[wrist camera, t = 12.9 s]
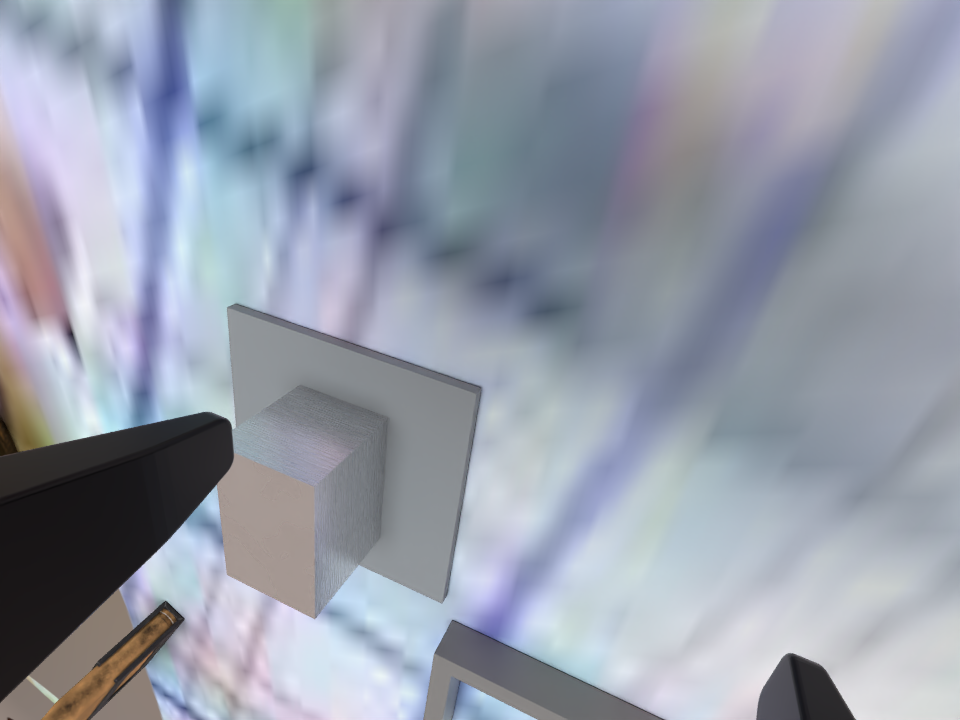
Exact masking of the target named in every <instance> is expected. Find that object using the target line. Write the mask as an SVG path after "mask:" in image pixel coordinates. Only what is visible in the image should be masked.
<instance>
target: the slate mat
mask: <svg viewBox="0 0 960 720" xmlns="http://www.w3.org/2000/svg"><path fill="white" fill-rule="evenodd" d="M227 315H228V328H229V341H230V354H231V367H232V379H233V392H234V405H235V418H236V427H238V426H239V425H241V424H242V423H244V422H245V421H247V420H248V419H250V418H251V417H253V416H254V415H256V414H257V413H259V412H260V411H262V410H263V409H265V408H266V407H268V406H269V405H271V404H272V403H274V402H275V401H277V400H278V399H279V398H281V397H282V396H284V395H285V394H287V393H288V392H290V391H291V390H293V389H294V388H296V387H297V386H299V385H302V386H305V387H308V388H311V389H313V390H316V391H319V392H321V393H324V394H327V395H329V396H332V397H335V398H338V399H340V400H343V401H346V402H348V403H351V404H354V405H356V406H359V407H362V408H365V409H367V410H370V411H373V412H375V413H378V414H381V415H383V416H386V417H389V422H388V436H387V450H386V464H385V478H384V492H383V507H382V521H381V535H380V539H379V540H378V541H377V543H376V544H375V545H374V546H373V548H372V549H371V550H370V551H369V553H368V554H367V555H366V556H365V558H364V559H363V560H362V561H361V563H360V564H359V565H360V566H363V567H365V568H367V569H369V570H371V571H373V572H375V573H378V574H380V575H382V576H384V577H386V578H388V579H391V580H393V581H395V582H397V583H399V584H401V585H403V586H406V587H408V588H410V589H412V590H414V591H416V592H418V593H421V594H423V595H425V596H427V597H429V598H431V599H433V600H436V601H438V602H440V603H443V601H444V600H445V598H446V596H447V591H448V585H449V579H450V573H451V567H452V561H453V555H454V549H455V543H456V537H457V531H458V525H459V519H460V513H461V507H462V501H463V495H464V489H465V483H466V477H467V471H468V465H469V459H470V453H471V447H472V441H473V435H474V430H475V424H476V418H477V412H478V406H479V400H480V394H481V388H479V387H476V386H474V385H471V384H468V383H465V382H462V381H459V380H456V379H453V378H450V377H447V376H444V375H441V374H439V373H436V372H433V371H430V370H427V369H424V368H421V367H418V366H415V365H412V364H409V363H406V362H403V361H401V360H398V359H395V358H392V357H389V356H386V355H383V354H380V353H377V352H374V351H371V350H368V349H366V348H363V347H360V346H357V345H354V344H351V343H348V342H345V341H342V340H339V339H336V338H333V337H331V336H328V335H325V334H322V333H319V332H316V331H313V330H310V329H307V328H304V327H301V326H298V325H295V324H293V323H290V322H287V321H284V320H281V319H278V318H275V317H272V316H269V315H266V314H263V313H260V312H258V311H255V310H252V309H249V308H246V307H243V306H240V305H237V304H234V305H232V306H229V307H227Z"/></svg>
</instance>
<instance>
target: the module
mask: <svg viewBox="0 0 960 720" xmlns="http://www.w3.org/2000/svg"><path fill="white" fill-rule="evenodd" d="M388 422H389V417H386V416H383V415H381V414H378V413H375V412H373V411H370V410H367V409H365V408H362V407H359V406H356V405H354V404H351V403H348V402H346V401H343V400H340V399H338V398H335V397H332V396H329V395H327V394H324V393H321V392H319V391H316V390H313V389H311V388H308V387H305V386H302V385H299V386H297V387H296V388H294V389H293V390H291V391H290V392H288V393H287V394H285V395H284V396H282V397H281V398H279V399H278V400H277V401H275V402H274V403H272V404H271V405H269V406H268V407H266V408H265V409H263V410H262V411H260V412H259V413H257V414H256V415H254V416H253V417H251V418H250V419H248V420H247V421H245V422H244V423H242V424H241V425H239V426H238V427H236V428H235V429H233V430H232V436H233V448H234V460H233V463H232V466H231V468H230V469H229V471H228V472H227V473H226V474H225V475H224V477H223V478H222V479H221V480H220V481H219V482H218V484H217V489H218V498H219V507H220V516H221V525H222V534H223V543H224V552H225V561H226V570H227V575H228V576H230V577H232V578H234V579H236V580H238V581H240V582H242V583H244V584H246V585H248V586H250V587H252V588H254V589H256V590H258V591H260V592H262V593H264V594H266V595H268V596H270V597H272V598H274V599H276V600H278V601H280V602H282V603H284V604H286V605H288V606H290V607H292V608H294V609H296V610H298V611H300V612H302V613H304V614H306V615H308V616H310V617H312V618H314V619H315V618H316V617H317V616H318V615H319V614H320V612H321V611H322V610H323V609H324V607H325V606H326V605H327V604H328V602H329V601H330V600H331V599H332V597H333V596H334V595H335V594H336V592H337V591H338V590H339V589H340V587H341V586H342V585H343V584H344V582H345V581H346V580H347V579H348V577H349V576H350V575H351V574H352V573H353V571H354V570H355V569H356V568H357V566H358V565H359V564H360V563H361V561H362V560H363V559H364V558H365V556H366V555H367V554H368V553H369V551H370V550H371V549H372V548H373V546H374V545H375V544H376V543H377V541H378V540H379V539H380V535H381V521H382V507H383V492H384V478H385V464H386V450H387V436H388Z"/></svg>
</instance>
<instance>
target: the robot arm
mask: <svg viewBox="0 0 960 720" xmlns="http://www.w3.org/2000/svg"><path fill="white" fill-rule="evenodd" d="M233 460H234V448H233V436H232V426H231V423H230V421H229V420H228V419H226V418H224V417H222V416H219V415H217V414H214V413H212V412H202V413H198V414H193V415H188V416H184V417H179V418H175V419H170V420H165V421H161V422H156V423H152V424H147V425H142V426H138V427H133V428H128V429H124V430H119V431H115V432H110V433H105V434H101V435H96V436H92V437H87V438H82V439H78V440H73V441H69V442H64V443H59V444H55V445H50V446H46V447H41V448H36V449H32V450H27V451H22V452H18V453H13V454H9V455H4V456H0V703H1V702H2V701H3V700H4V699H5V697H7V696H8V695H9V694H10V693H11V692H12V691H13V690H14V689H15V688H16V687H17V686H18V685H19V684H20V683H21V682H22V681H23V680H24V679H25V678H26V677H27V676H28V675H30V674H31V672H33V671H34V670H35V669H36V668H37V667H38V666H39V665H40V664H41V663H42V662H43V661H44V660H45V659H46V658H47V657H48V656H49V655H50V654H51V653H52V652H53V651H54V650H55V649H56V648H57V647H58V646H59V645H60V644H62V642H64V641H65V640H66V639H67V638H68V637H69V636H70V635H71V634H72V633H73V632H74V631H75V630H76V629H77V628H78V627H79V626H80V625H81V624H82V623H83V622H84V621H85V620H86V619H87V618H88V617H90V616H91V615H92V614H93V613H94V612H95V611H96V610H97V609H98V608H99V607H100V606H101V605H102V604H103V603H104V602H105V601H106V600H107V599H108V598H109V597H110V596H111V595H112V594H113V593H114V592H115V591H116V590H118V589H119V588H120V587H121V586H122V585H123V584H124V583H125V582H126V581H127V580H128V579H129V578H130V577H131V576H132V575H133V574H134V573H135V572H136V571H137V570H138V569H139V568H140V567H141V566H142V565H143V564H144V563H145V562H146V561H148V560H149V559H150V558H151V557H152V556H153V555H154V554H155V553H156V552H157V551H158V550H159V549H160V548H161V547H162V546H163V545H164V544H165V543H166V542H167V541H168V540H169V539H170V538H171V537H172V535H173V534H174V533H175V532H176V531H177V530H178V529H179V528H180V527H181V525H182V524H183V523H184V522H185V521H186V520H187V518H188V517H189V516H190V515H191V514H192V513H193V511H194V510H195V509H196V508H197V507H198V506H199V504H200V503H201V502H202V501H203V500H204V499H205V498H206V496H207V495H208V494H209V493H210V492H211V491H212V489H213V488H214V487H215V486H216V485H217V484H218V482H219V481H220V480H221V479H222V478H223V477H224V475H225V474H226V473H227V472H228V471H229V469H230V468H231V466H232V463H233ZM756 720H856V719H855V718H854V716H853V714H852V713H851V711H850V709H849V708H848V706H847V704H846V703H845V701H844V699H843V698H842V696H841V694H840V693H839V691H838V689H837V688H836V686H835V684H834V683H833V681H832V679H831V678H830V676H829V674H828V673H827V671H826V670H825V669H824V668H823V667H822V666H821V665H819V664H817V663H815V662H813V661H810V660H808V659H805V658H803V657H801V656H798V655H796V654H793V653H788V654H786V655H785V656H784V657H783V658H782V659H781V661H780V662H779V664H778V665H777V667H776V668H775V670H774V672H773V673H772V675H771V676H770V678H769V679H768V681H767V683H766V684H765V686H764V687H763V689H762V692H761V694H760V698H759V702H758V708H757V718H756Z"/></svg>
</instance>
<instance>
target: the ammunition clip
mask: <svg viewBox="0 0 960 720" xmlns="http://www.w3.org/2000/svg"><path fill="white" fill-rule="evenodd" d="M183 621H184V618H183V617H182V616H181V615H180V614H179V613H178V612H177V611H176V610H175V609H174V608H172V607H171V606H170V605H169V604H168V603H167V602H166V601H165V602H163V603H162V604H161V605H160V606H159V607H158V608H157V609H156V610H155V611H153V612H152V613H151V614H150V615H149V616H148V617H147V618H146V619H145V620H143V621H142V622H141V623H140V624H139V625H138V626H137V627H136V628H134V629H133V630H132V631H131V632H130V633H129V634H128V635H127V636H126V637H124V638H123V639H122V640H121V641H120V642H119V643H118V644H117V645H116V646H114V647H113V648H112V649H111V650H110V651H109V652H108V653H107V654H106V655H104V656H103V657H102V658H101V659H100V660H99V661H98V662H97V663H96V664H95V666H94V667H93V669H92V670H91V671H90V672H89V673H88V674H87V675H86V676H85V677H84V678H83V679H81V680H80V681H79V682H78V683H77V684H76V685H75V686H74V687H73V688H72V689H70V690H69V691H68V692H67V693H66V694H65V695H64V696H63V697H62V698H61V699H59V700H58V701H57V702H56V703H55V704H54V705H53V707H52V708H51V709H50V710H49V711H48V713H47V714H46V715H45V716H44V717H43V718H42V719H41V720H90V719H91V718H92V717H93V716H94V715H95V714H96V713H97V712H98V711H100V710H101V709H102V707H104V706H105V705H106V704H107V703H108V702H109V701H110V700H111V699H112V698H113V697H114V696H115V695H116V694H117V693H118V692H119V691H120V690H121V689H122V688H123V687H124V686H125V685H126V684H127V683H128V682H129V681H130V680H131V679H132V678H133V677H135V676H136V675H137V674H138V673H139V672H140V671H141V669H143V668H144V667H145V666H146V665H147V664H148V663H149V661H150V660H151V659H152V658H153V657H154V655H155V654H156V653H157V652H158V651H159V649H160V648H161V647H162V646H163V645H164V643H165V642H166V641H167V640H168V639H169V637H170V636H171V635H172V634H173V633H174V631H175V630H176V629H177V628H178V627H179V625H180V624H181V623H182V622H183Z"/></svg>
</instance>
